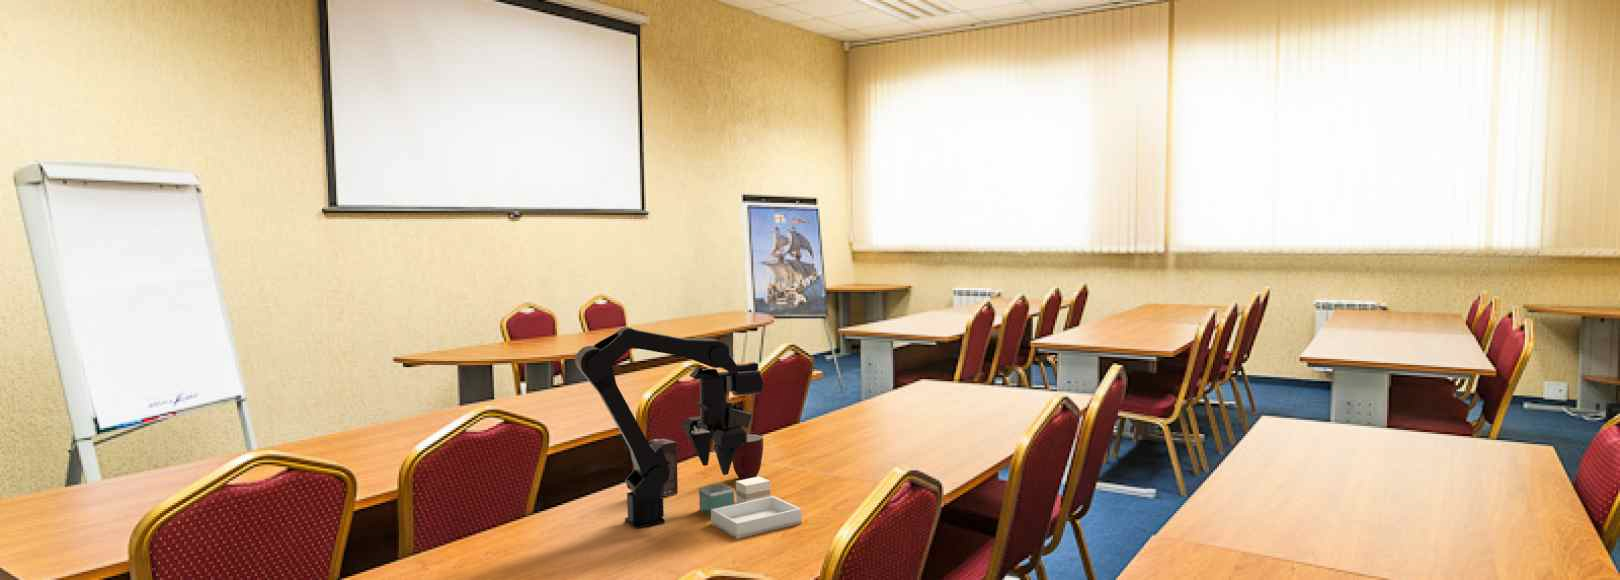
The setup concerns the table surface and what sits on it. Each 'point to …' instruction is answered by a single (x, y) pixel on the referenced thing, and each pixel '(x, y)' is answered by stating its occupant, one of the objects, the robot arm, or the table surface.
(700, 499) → the tin
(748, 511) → the tote
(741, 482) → the carton
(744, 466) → the mug
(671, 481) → the box
